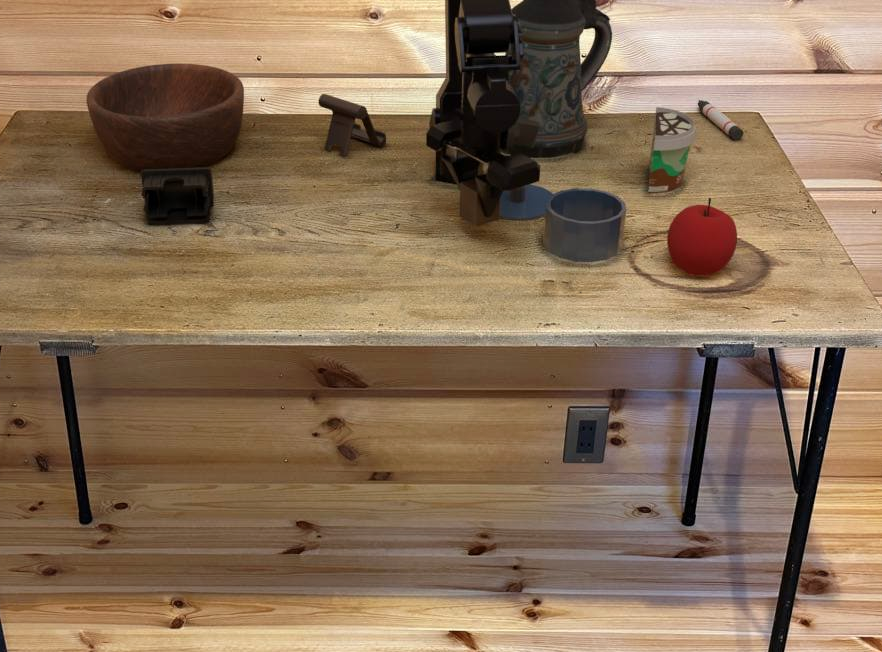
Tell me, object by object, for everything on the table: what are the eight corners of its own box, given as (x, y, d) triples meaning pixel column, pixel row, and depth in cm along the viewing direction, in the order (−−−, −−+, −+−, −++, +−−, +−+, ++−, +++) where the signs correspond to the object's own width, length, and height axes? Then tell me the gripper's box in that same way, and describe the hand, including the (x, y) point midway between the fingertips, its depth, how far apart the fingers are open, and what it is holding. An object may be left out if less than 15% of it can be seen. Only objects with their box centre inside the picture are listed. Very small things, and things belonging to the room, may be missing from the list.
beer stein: (465, 145, 195) (469, -10, 181) (532, 110, 207) (541, -38, 192) (549, 171, 186) (561, 10, 172) (614, 133, 198) (630, -20, 184)
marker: (742, 139, 195) (744, 128, 194) (731, 141, 195) (733, 129, 193) (702, 106, 207) (704, 95, 206) (692, 107, 207) (693, 96, 206)
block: (459, 216, 167) (459, 182, 164) (482, 209, 168) (483, 175, 165) (475, 227, 164) (477, 192, 161) (499, 219, 166) (500, 185, 163)
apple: (648, 262, 162) (657, 195, 156) (699, 246, 165) (709, 179, 159) (694, 291, 155) (705, 222, 149) (746, 274, 159) (759, 205, 153)
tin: (531, 255, 164) (534, 213, 160) (559, 223, 171) (562, 182, 168) (606, 272, 160) (611, 229, 156) (631, 238, 167) (636, 197, 164)
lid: (465, 214, 174) (466, 179, 171) (496, 184, 183) (497, 149, 179) (539, 230, 170) (541, 194, 167) (567, 198, 178) (570, 163, 175)
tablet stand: (387, 145, 195) (386, 96, 191) (355, 160, 191) (353, 110, 186) (348, 132, 200) (346, 84, 195) (315, 146, 195) (313, 97, 191)
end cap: (215, 202, 179) (210, 160, 175) (212, 223, 173) (207, 180, 169) (148, 204, 179) (142, 162, 175) (143, 226, 173) (137, 183, 169)
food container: (689, 203, 176) (698, 139, 170) (647, 200, 177) (655, 137, 171) (688, 169, 186) (697, 108, 180) (648, 166, 187) (656, 105, 181)
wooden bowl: (99, 189, 183) (88, 126, 177) (92, 129, 203) (82, 70, 197) (259, 171, 188) (254, 109, 182) (237, 114, 208) (232, 56, 202)
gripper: (576, 112, 153) (567, 221, 162) (490, 70, 166) (486, 173, 175) (507, 131, 149) (502, 242, 158) (424, 87, 162) (423, 192, 171)
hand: (479, 210), depth 165 cm, fingers closed on block, 4 cm apart
